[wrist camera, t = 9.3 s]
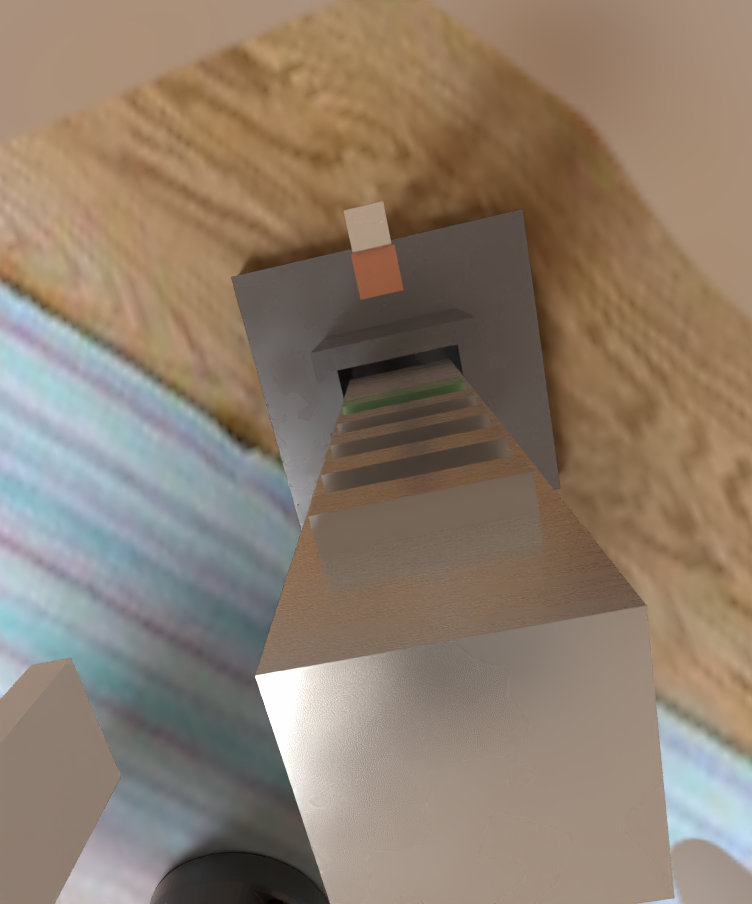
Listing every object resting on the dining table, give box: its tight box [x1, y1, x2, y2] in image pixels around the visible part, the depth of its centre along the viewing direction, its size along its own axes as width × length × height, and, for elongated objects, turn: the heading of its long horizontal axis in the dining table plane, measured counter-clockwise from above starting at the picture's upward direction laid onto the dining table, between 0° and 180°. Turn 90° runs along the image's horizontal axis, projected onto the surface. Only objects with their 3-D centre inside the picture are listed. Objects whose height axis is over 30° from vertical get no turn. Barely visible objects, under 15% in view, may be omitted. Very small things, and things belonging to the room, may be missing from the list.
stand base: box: [231, 201, 560, 531], centre depth 26 cm, size 16×16×19 cm
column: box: [255, 359, 674, 904], centre depth 17 cm, size 4×5×20 cm
